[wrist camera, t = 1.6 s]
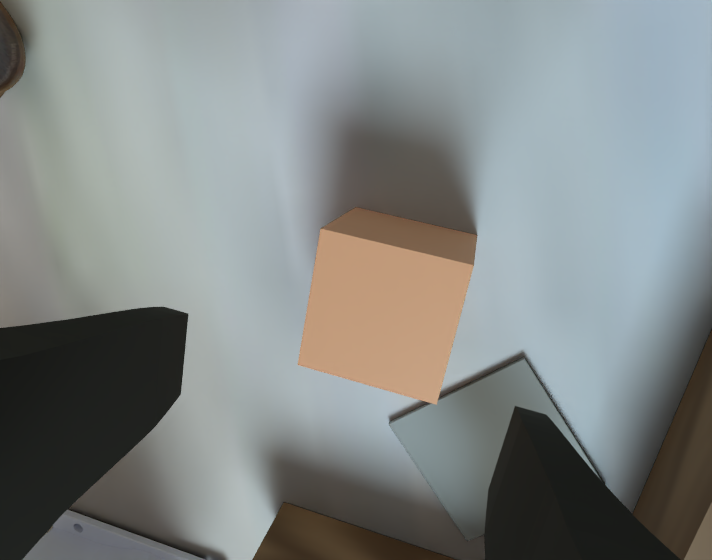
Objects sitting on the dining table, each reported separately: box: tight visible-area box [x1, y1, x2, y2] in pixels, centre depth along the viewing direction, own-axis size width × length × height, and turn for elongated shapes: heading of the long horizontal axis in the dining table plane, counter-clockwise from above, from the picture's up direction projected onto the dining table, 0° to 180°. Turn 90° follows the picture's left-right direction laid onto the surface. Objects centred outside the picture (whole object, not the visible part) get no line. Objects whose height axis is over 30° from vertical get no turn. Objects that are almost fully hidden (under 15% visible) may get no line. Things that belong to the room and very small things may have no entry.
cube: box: [298, 207, 477, 405], centre depth 18 cm, size 4×4×4 cm
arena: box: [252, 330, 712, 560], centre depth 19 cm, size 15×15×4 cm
